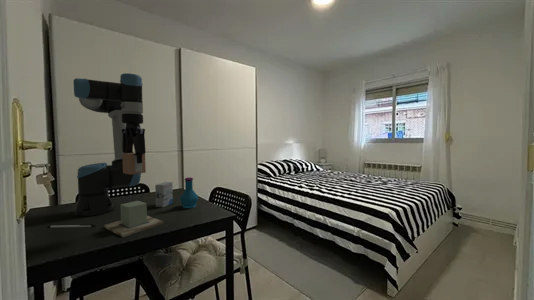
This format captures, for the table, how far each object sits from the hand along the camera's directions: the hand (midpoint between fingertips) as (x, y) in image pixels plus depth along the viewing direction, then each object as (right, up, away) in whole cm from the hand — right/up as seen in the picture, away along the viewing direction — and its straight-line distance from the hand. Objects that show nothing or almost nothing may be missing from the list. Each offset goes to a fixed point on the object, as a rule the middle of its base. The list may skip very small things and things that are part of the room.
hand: (134, 170), depth 96 cm
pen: (-25, -23, 0) cm, 35 cm away
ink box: (-1, -21, +30) cm, 37 cm away
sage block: (0, -22, +1) cm, 22 cm away
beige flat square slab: (0, -23, +1) cm, 23 cm away
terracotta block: (0, -1, 0) cm, 1 cm away
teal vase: (+13, -21, +28) cm, 37 cm away
